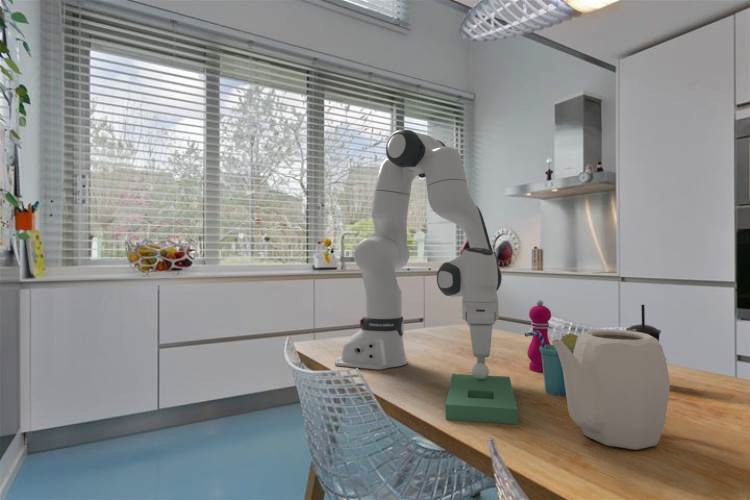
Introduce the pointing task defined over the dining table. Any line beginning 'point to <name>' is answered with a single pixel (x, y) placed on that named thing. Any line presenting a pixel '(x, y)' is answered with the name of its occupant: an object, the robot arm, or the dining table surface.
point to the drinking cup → (645, 327)
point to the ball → (480, 371)
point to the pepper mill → (539, 323)
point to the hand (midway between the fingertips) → (481, 367)
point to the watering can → (616, 386)
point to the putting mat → (481, 399)
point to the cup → (554, 363)
